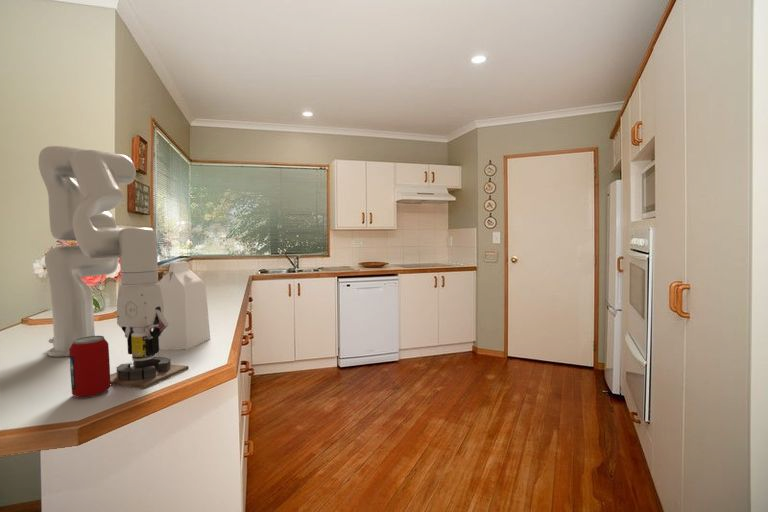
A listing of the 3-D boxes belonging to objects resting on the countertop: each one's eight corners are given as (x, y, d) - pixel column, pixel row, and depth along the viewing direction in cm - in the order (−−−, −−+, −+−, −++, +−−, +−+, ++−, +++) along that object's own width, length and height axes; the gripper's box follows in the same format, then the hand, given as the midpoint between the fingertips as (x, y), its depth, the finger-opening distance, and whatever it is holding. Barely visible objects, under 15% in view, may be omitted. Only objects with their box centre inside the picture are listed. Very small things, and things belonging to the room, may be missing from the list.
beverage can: (86, 387, 86) (83, 335, 86) (117, 386, 87) (114, 334, 86) (63, 400, 80) (60, 343, 79) (98, 398, 80) (94, 342, 80)
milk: (178, 338, 128) (175, 260, 127) (210, 339, 127) (207, 260, 125) (152, 348, 116) (148, 263, 115) (186, 349, 115) (183, 263, 113)
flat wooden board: (96, 383, 89) (95, 370, 89) (145, 364, 102) (144, 353, 101) (144, 388, 85) (143, 375, 85) (188, 368, 98) (188, 357, 98)
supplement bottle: (144, 362, 90) (142, 326, 90) (127, 361, 91) (125, 326, 91) (160, 355, 95) (158, 322, 95) (143, 354, 96) (142, 321, 96)
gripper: (97, 280, 91) (102, 355, 92) (154, 281, 86) (158, 360, 87) (126, 276, 98) (130, 346, 99) (180, 277, 93) (184, 351, 94)
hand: (143, 352), depth 93 cm, fingers closed on supplement bottle, 4 cm apart
